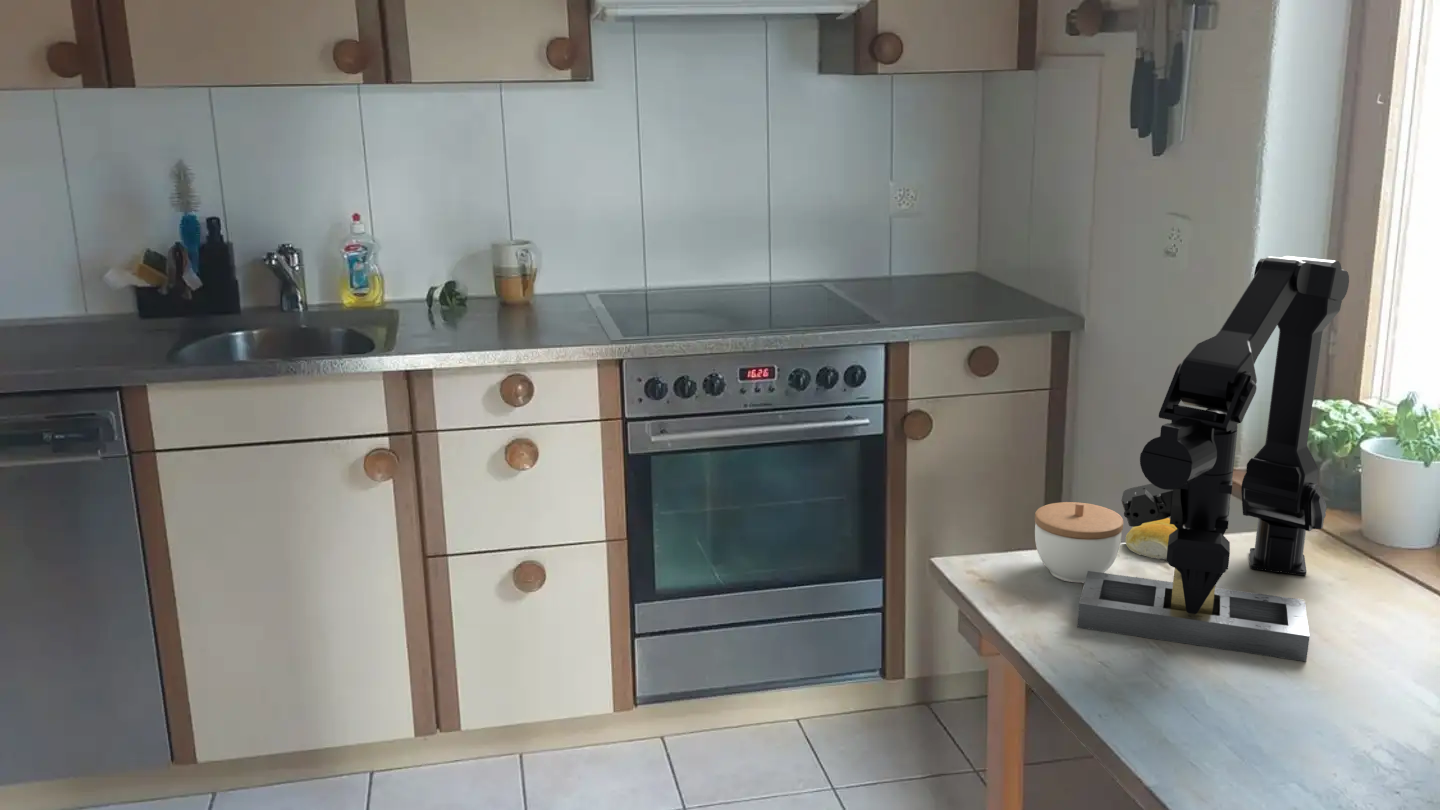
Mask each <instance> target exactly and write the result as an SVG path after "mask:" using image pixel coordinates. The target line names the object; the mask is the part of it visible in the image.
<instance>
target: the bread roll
mask: <svg viewBox="0 0 1440 810" xmlns="http://www.w3.org/2000/svg"><path fill="white" fill-rule="evenodd" d="M1175 530H1177V528H1176V527H1175V525H1174V524H1170V517H1168V518H1166V519H1162V520H1157V521H1152V522H1147V523H1143V524H1142V525H1141V526H1136V527H1131V528H1130V530H1129V531H1128V532H1127V533H1126V535H1125V539H1124V542H1125V545H1126V547H1127V548H1128V549H1129V551H1131V552H1133V553H1135V554H1136V555H1140V556H1143V557H1144V556H1145V557H1147V558H1151V559H1156V560H1157V559H1158V560H1164V561H1165V560H1167V549H1168V540H1169V535H1170V534H1171V533H1173V532H1174V531H1175Z"/></svg>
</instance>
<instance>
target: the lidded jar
mask: <svg viewBox="0 0 1440 810" xmlns="http://www.w3.org/2000/svg"><path fill="white" fill-rule="evenodd" d="M1034 523H1035V527H1034V539H1035V542H1034V543H1035V546H1036V552H1037V554H1038V556H1039V558H1040V560H1041V562H1042V564H1043V565H1044V566H1045V567H1046V568H1047V569H1048V570H1049V573H1050V574H1051V575H1052V576H1053V577H1054V578H1056V579H1059V580H1060V581H1065V582H1067V583H1068V582H1070V583H1074V584H1075V583H1077V584H1078V583H1079V584H1084V583H1085V580H1086V576H1087V573H1088V571H1093V572H1100V573H1107V571H1108V570H1109V569H1110V568H1111V567H1112V566H1113V564H1114V562H1115V560H1116V558H1117V557H1118V555H1119V552H1120V551H1119V550H1120V547H1121V541H1122V532H1123V529H1124V519H1123V517H1122V516H1121V515H1120V514H1119V513H1118V512H1116V511H1115V510H1112V509H1110V508H1107V507H1105V506H1101V505H1097V504H1093V503H1084V502H1078V501H1077V502H1075V501H1073V502H1072V501H1071V502H1070V501H1064V502H1063V501H1062V502H1052V503H1049V504H1046V505H1042V506H1040V507H1039V508H1037V510H1036V511H1035V513H1034Z"/></svg>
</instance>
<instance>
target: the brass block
mask: <svg viewBox="0 0 1440 810" xmlns="http://www.w3.org/2000/svg"><path fill="white" fill-rule="evenodd" d="M1172 579H1173V581H1172V582H1173V589H1172V600H1171V609H1173V610H1180V611H1186V605H1185V598H1184V591H1183V584H1182V577H1181V573H1180V572H1179V571H1178V570H1177V569H1176V568H1175V567H1174V570H1173V578H1172ZM1215 588H1216V585H1215V586H1214V588H1213V589H1212V591H1211V592H1210V594H1209V595H1208V597H1207V599H1206V600H1205V602H1204V603H1203V605H1202V606H1201V608H1200V610H1199V611H1198V613H1201V614H1208V615H1212V611H1213V601H1214V592H1215Z"/></svg>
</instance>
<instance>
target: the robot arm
mask: <svg viewBox="0 0 1440 810" xmlns="http://www.w3.org/2000/svg"><path fill="white" fill-rule="evenodd" d="M1349 283H1350V275H1349V272H1348V271H1347V270H1346V269H1342V263H1340V261H1338V260H1334V259H1333V260H1332V259H1321V258H1312V257H1303V256H1292V255H1291V256H1290V255H1285V256H1282V257H1279V256H1270V255H1269V256H1267V257H1261V258H1259V260H1258V261H1257V263H1256V266H1255V269H1254V274H1253V278H1252V279H1251V281H1250V283H1249V284H1248V286H1247V287H1246V288H1245V291H1244V292H1243V294H1242V295H1241V297H1240V298H1239V299H1238V301H1237V302H1236V304H1235V305H1234V308H1233V309H1232V311H1231V312H1230V314H1229V316H1228V317H1227V318H1226V320H1225V322H1224V323H1223V325H1222V327H1221V328H1220V329H1219V331H1218V332H1217V333H1216V335H1214V336H1212V337H1210V338H1208V339H1205V340H1203V341H1201V342H1199V343H1197V344H1196V345H1195V346H1194V347H1192V349H1191V351H1190V352H1189V353H1188V354H1187V355H1186V356H1185V357H1184V359H1183V360H1182V362H1180V363H1179V364H1178V366H1177V367H1176V369H1175V372H1174V374H1173V377H1172V379H1171V382H1170V385H1169V387H1168V389H1167V392H1166V394H1165V397H1164V399H1163V402H1162V404H1161V407H1160V410H1159V411H1158V418H1159V419H1163V420H1169V421H1171V423H1170V422H1169V423H1168V422H1167V423H1163V424H1162V425H1161V427H1160V434H1159V435H1158V436H1157V437H1154V438H1152V439H1150V440H1149V441H1148V442H1146V444H1145V445H1144V446H1143V449H1142V451H1141V453H1140V456H1139V464H1140V465H1139V466H1140V469H1141V472H1142V473H1143V475H1144V477H1145V478H1146V480H1147V481H1148V482H1149V483H1148V484H1144V485H1143V484H1142V485H1138V486H1134V487H1130V488H1127V489H1125V490H1124V491H1123V492H1122V495H1121V500H1120V501H1121V505H1122V507H1123V516H1124V517H1125V518H1126V520H1127V522H1128V523H1127V524H1128V526H1129V527H1131V528H1133V527H1136V526H1141V525H1142V524H1143V523H1147V522H1152V521H1157V520H1162V519H1166V518H1170V524H1174V525H1175V527H1176V528H1177V530H1175V531H1174V532H1173V533H1171V534H1170V535H1169V540H1168V549H1167V560H1166V563H1168V565H1169V566H1170V567H1172V568H1174V569H1175V568H1176V569H1177V570H1178V571H1179V572H1180V573H1181V577H1182V584H1183V591H1184V598H1185V605H1186V612H1187V613H1192V614H1197V613H1198V611H1199V610H1200V608H1201V606H1202V605H1203V603H1204V602H1205V600H1206V599H1207V597H1208V595H1209V594H1210V592H1211V591H1212V589H1213V588H1214V586H1215V587H1216V585H1217V583H1218V582H1219V580H1220V579H1221V578H1222V575H1223V574H1225V573H1226V571H1227V570H1228V569H1229V564H1230V555H1231V554H1230V553H1231V549H1230V547H1231V545H1230V544H1231V542H1230V541H1229V539H1227V538H1226V536H1225V533H1226V531H1227V530H1228V529H1229V520H1230V519H1229V517H1230V507H1231V506H1230V504H1231V495H1232V493H1233V476H1234V466H1235V465H1234V464H1235V458H1236V457H1235V456H1236V448H1237V447H1236V446H1237V439H1238V438H1237V436H1238V424H1242V423H1243V420H1244V418H1245V416H1246V414H1247V412H1248V409H1249V408H1250V406H1251V403H1252V401H1253V399H1254V397H1255V395H1256V392H1257V383H1258V379H1257V375H1256V369H1255V364H1256V362H1257V359H1258V357H1259V355H1260V354H1261V352H1262V351H1263V349H1264V347H1265V345H1267V342H1268V341H1269V339H1270V337H1271V336H1272V334H1273V332H1274V331H1275V329H1276V328H1277V327H1278V330H1279V331H1278V332H1279V333H1278V340H1277V341H1278V343H1277V349H1276V357H1275V358H1276V359H1275V363H1274V364H1275V365H1274V374H1273V382H1272V389H1271V396H1270V403H1269V404H1270V405H1269V411H1268V412H1269V413H1268V421H1267V426H1266V427H1267V429H1266V437H1265V443H1264V445H1263V446H1262V447H1261V449H1259V451H1258V452H1257V453H1256V454H1255V455H1254V456H1253V457H1252V458H1250V459H1249V460H1248V462H1247V464H1246V472H1245V474H1244V476H1243V478H1242V482H1241V507H1242V515H1243V516H1244V517H1251V518H1252V517H1253V518H1256V519H1257V524H1256V533H1255V535H1256V536H1255V542H1254V543H1255V544H1254V547H1250V549H1249V562H1250V563H1249V565H1250V568H1251V570H1257V571H1258V570H1259V571H1266V572H1267V571H1268V572H1275V573H1276V572H1277V573H1283V574H1289V575H1290V574H1291V575H1300V576H1306V575H1307V571H1308V570H1307V564H1306V558H1305V557H1306V556H1305V555H1304V550H1305V542H1306V533H1307V532H1311V531H1312V530H1322V529H1323V527H1324V522H1325V518H1326V515H1327V514H1326V512H1327V508H1328V506H1327V504H1326V501H1325V498H1324V495H1323V493H1322V490H1321V488H1320V485H1319V484H1318V475H1319V467H1318V465H1317V463H1316V461H1315V459H1314V457H1313V455H1312V453H1311V451H1310V449H1309V447H1308V440H1309V433H1310V425H1311V419H1312V409H1313V403H1314V395H1315V389H1316V387H1315V386H1316V381H1317V374H1318V365H1319V359H1320V358H1319V357H1320V350H1321V343H1322V335H1323V331H1324V330H1325V329H1326V328H1327V326H1328V325H1329V324H1330V323H1331V322H1332V320H1334V319H1335V317H1336V316H1337V315H1338V313H1340V311H1341V306H1342V302H1343V300H1344V299H1345V298H1346V295H1347V293H1348V290H1349ZM1181 402H1182V403H1183V404H1184V405H1180V403H1181ZM1185 405H1188V406H1185ZM1191 406H1193V407H1191ZM1195 407H1199V408H1195ZM1200 408H1203V409H1200Z"/></svg>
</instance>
